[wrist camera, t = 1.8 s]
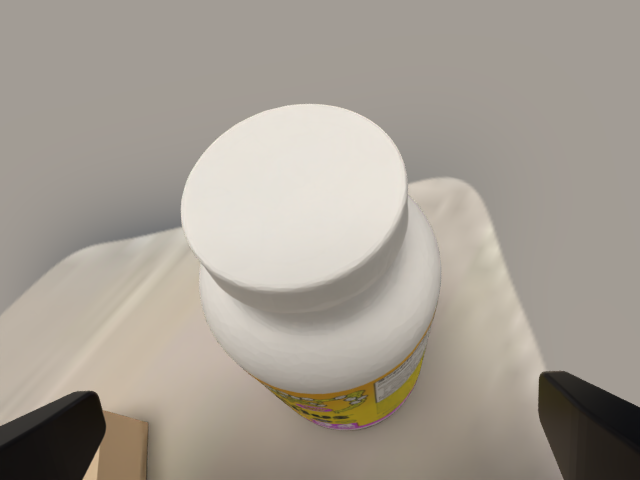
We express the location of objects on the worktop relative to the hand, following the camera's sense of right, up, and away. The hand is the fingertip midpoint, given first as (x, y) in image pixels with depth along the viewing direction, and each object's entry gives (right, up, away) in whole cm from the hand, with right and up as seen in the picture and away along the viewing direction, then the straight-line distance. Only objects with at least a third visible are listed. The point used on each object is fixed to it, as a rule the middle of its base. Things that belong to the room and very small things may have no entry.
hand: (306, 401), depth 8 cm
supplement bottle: (+2, -2, +11) cm, 11 cm away
